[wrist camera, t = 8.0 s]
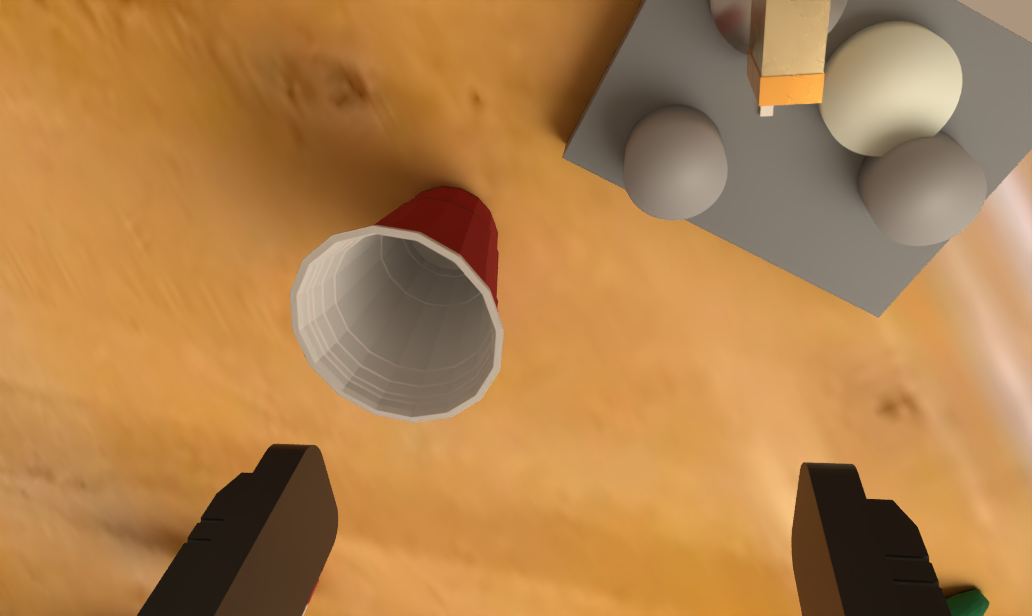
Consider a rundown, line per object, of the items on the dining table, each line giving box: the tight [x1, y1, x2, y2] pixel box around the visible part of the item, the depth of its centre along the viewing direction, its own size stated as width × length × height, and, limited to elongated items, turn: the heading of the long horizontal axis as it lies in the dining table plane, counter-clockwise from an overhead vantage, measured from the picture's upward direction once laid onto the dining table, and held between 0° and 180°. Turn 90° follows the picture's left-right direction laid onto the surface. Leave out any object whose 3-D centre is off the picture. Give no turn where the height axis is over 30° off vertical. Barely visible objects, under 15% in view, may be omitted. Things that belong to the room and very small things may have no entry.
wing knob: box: [710, 0, 848, 106], centre depth 33 cm, size 7×6×6 cm
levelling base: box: [562, 0, 1032, 317], centre depth 38 cm, size 20×15×5 cm
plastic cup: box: [290, 186, 504, 423], centre depth 42 cm, size 11×11×12 cm
